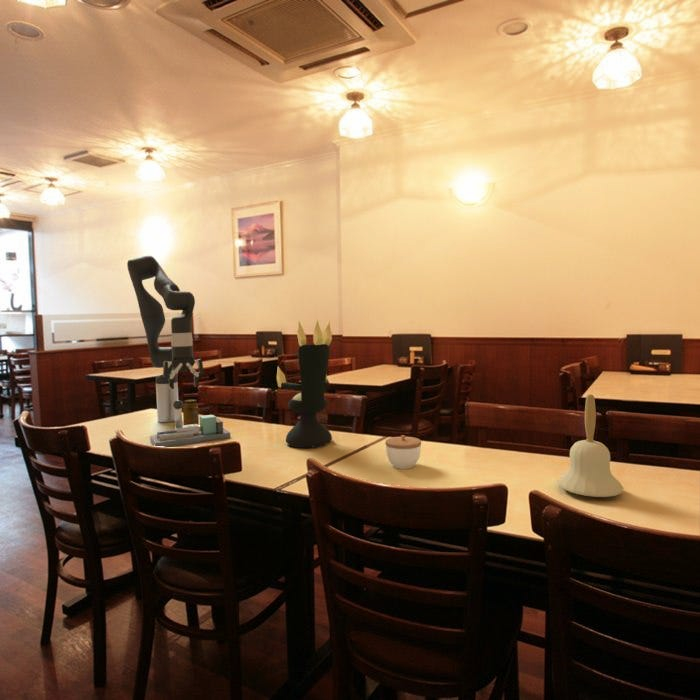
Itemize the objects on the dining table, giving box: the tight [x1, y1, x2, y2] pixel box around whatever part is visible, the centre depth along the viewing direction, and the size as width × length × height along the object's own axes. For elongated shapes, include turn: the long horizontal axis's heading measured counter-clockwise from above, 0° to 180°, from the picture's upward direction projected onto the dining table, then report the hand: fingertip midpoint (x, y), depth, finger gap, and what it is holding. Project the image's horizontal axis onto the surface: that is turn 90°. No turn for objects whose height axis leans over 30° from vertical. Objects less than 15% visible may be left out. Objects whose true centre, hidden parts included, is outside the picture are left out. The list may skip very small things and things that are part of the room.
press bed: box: [149, 417, 231, 448], centre depth 191 cm, size 13×27×6 cm, turn 120°
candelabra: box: [276, 319, 333, 449], centre depth 179 cm, size 19×22×45 cm
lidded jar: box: [385, 434, 422, 470], centre depth 153 cm, size 11×11×9 cm
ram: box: [173, 399, 202, 434], centre depth 191 cm, size 4×10×13 cm, turn 120°
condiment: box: [182, 399, 200, 426], centre depth 209 cm, size 7×8×12 cm
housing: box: [199, 414, 217, 434], centre depth 195 cm, size 5×5×6 cm
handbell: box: [556, 393, 625, 498], centre depth 127 cm, size 15×15×25 cm
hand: (184, 387), depth 190 cm, fingers open, 8 cm apart
